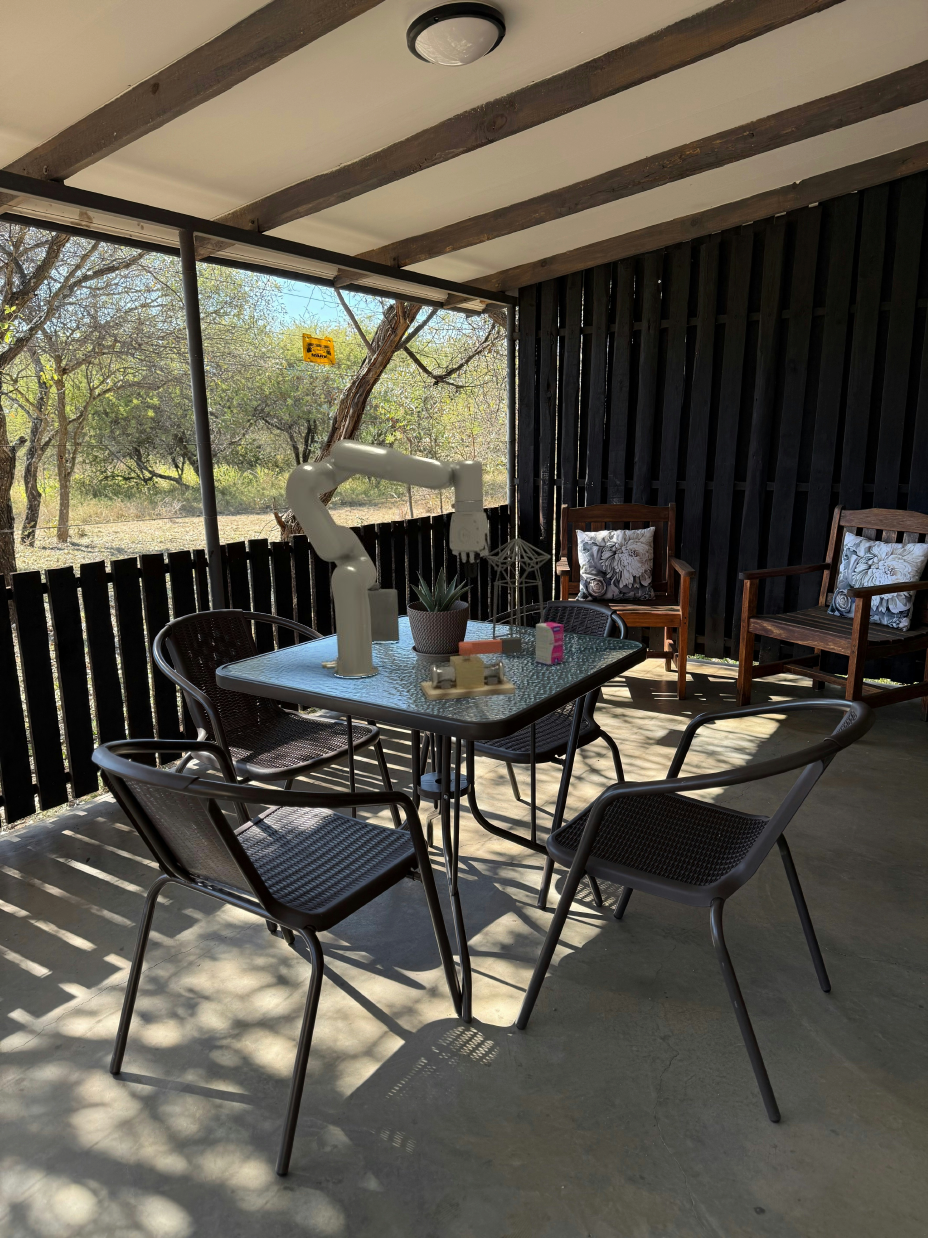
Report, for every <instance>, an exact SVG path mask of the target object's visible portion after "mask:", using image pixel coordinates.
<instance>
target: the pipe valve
mask: <svg viewBox="0 0 928 1238" xmlns="http://www.w3.org/2000/svg"><path fill="white" fill-rule="evenodd" d="M449 661H450V662H449V666H445V667H437V665H436V664H431V665H430V668H429V678H430V682H431V685H432V687H437V686H439V687H440V689H441V690H444V689H451V685H450V683H452V684H453V686H454V687H455V688H456V689H457V690H460V689H472V688H484V682H485V683H486V684H487V685H488V686H492V685H497V681H498V682H503V680H504V677H505V668H504V663H503V661H502V659H496V660H495V662H493V663H484V660H483V659H482V658H481V657H480V656H479V654H477V655H470V658H467V659H465V658H463V656H462V655H455V656H454V655H453V656H450V657H449Z"/></svg>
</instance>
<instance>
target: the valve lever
mask: <svg viewBox="0 0 928 1238" xmlns="http://www.w3.org/2000/svg"><path fill="white" fill-rule="evenodd" d="M521 638H522V637H521ZM521 638H520V637H519V636H517V637H516V636H513V637H511V636H510V637H509V636H505V637H499V638H496V639H497V640H493V639H485V640H467V641H460V642H458V654H459V656H463V658H465V659H467V658H470V655H488V654H501V653H502V654H501V655H505V654H511V655H513V654H516V653H517V654H520V653H521V654H522V652H523V650H522V649H523V644H522V642H523V639H521Z"/></svg>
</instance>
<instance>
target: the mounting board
mask: <svg viewBox="0 0 928 1238" xmlns="http://www.w3.org/2000/svg"><path fill="white" fill-rule="evenodd" d="M450 685H451V689H444V690H441V689H440V687H439V686H437V687H432V685H431V681H426V682H425V681H424V682H420V690H421V691H422V692H423V694H424V695H425V697H426V699H427V700H428V701H437V700H439V701H441V700H450V699H462V698H474V697H475V698H476V697H488V696H498V695H499V696H500V695H508V694H509V695H510V694H516V691H517V690H516V686H515V685H514V684H513V683H512V682H511V681H509V680H508V679H507V678H506V677H505V676H504V680H503V682H498V681H497V685H492V686H488V685H487V684H486V683H485V682H484V688H472V689H460V690H457V689H456V688H455V687H454V686H453V684H452V683H450Z"/></svg>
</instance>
